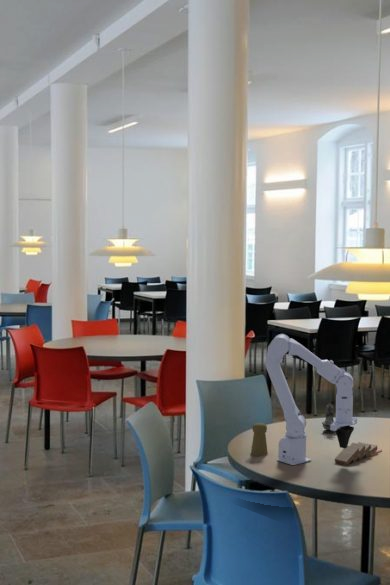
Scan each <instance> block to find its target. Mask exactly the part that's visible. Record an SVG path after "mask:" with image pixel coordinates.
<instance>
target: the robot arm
mask: <svg viewBox="0 0 390 585" xmlns="http://www.w3.org/2000/svg"><path fill="white" fill-rule="evenodd" d="M287 353H288V354H287ZM286 354H287V355H288V356H298V357H299V358H301V359H302V360H304V361H305V362H307V363H309V364H310V365H312V366H313V367H314V368H316V373H317V374H319V376H321V377H322V378H324V379H325V380H327V381H328V382H329V383H331V384H333V385H335V387H336V395H335V420H334V422H333V423H332V424H330V430H333V431H335V433H334V434H335V435H336V437H337V441H338V444H339V448H342V449H344V448H347V446H349V441H350V438H351V436H352V434H353V431H354V430H355V427H354V426H355V425H357V424H358V417H353V412H354V410H353V409H354V395H353V393H354V390H353V388H354V386H355V385H354V377H353V376H352V374H350V372H347V371H346V370H345V369H343V368H340V367H338V366H337V365H336V364H334V361H333V360H332V359H330V360H328V359H321V358H320V357H318V356H317V355H316V354H314V353H313V352H311V351H310V350H309V348H306V346H304V345H303V344H301V343H300V342H298V341H297V340H295V339H294V338H292V337H291V338H290V336H288V335H286V334H285V333H280V334H279V333H278V334H277V335H275V337H273V339H272V340H271V342H270V343H269V345H268V346H267V353H266V357H265V361H264V366H265V368H266V370H267V373H268V376H269V379H270V381H271V383H272V385H273V386H272V387H273V388H274V390H275V394H276V396H277V398H278V402H279V404H280V406H281V409H282V412H283V417H284V420H285V423H286V424H285V430H286V432H285V435H284V436H283V437H282V438H280V440H279V441H278V456H277V457H278V458H276V461H279V462H281V463H285V464H287V465H291V466H296V465H300V464H303V463H307V462H311V461H312V459H311V458H308V457H307V433H306V432H305V428H306V425H307V420H306V418H305V416H304V415H303V414H302V413H301V411H300V409H299V407H298V406H297V403H296V402H295V399H294V397H293V394H292V391H291V389H290V387H289V385H288V384H289V383H288V381H287V379H286V376H285V374H284V372H283V369H282V367H281V361H282V359H283V357H284V356H285V355H286Z"/></svg>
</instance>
